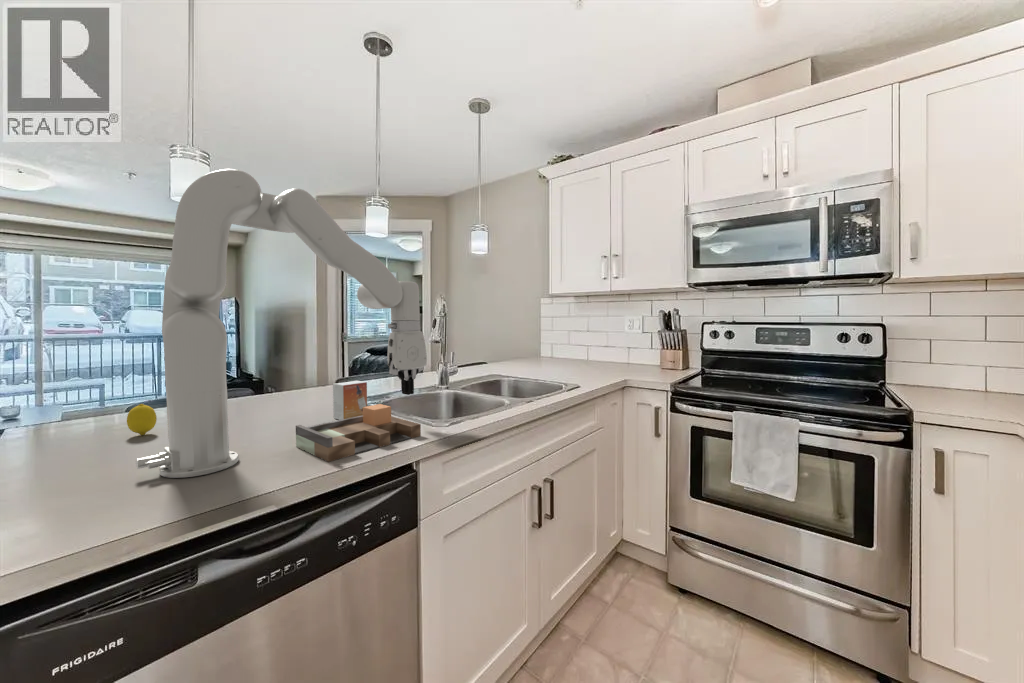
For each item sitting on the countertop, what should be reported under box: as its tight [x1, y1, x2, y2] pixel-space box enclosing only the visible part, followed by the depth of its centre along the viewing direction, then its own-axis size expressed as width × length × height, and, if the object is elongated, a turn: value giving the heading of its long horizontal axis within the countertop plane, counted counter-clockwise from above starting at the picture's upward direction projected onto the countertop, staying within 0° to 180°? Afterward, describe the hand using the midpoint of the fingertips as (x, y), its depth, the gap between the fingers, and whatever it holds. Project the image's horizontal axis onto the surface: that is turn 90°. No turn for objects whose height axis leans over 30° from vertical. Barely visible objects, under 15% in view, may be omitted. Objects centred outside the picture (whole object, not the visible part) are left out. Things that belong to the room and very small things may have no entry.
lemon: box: [126, 403, 158, 436], centre depth 102 cm, size 6×6×8 cm
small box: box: [332, 380, 368, 421], centre depth 121 cm, size 8×6×10 cm
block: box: [363, 403, 392, 426], centre depth 104 cm, size 5×5×4 cm
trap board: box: [295, 415, 422, 463], centre depth 98 cm, size 24×15×5 cm, turn 141°
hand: (407, 393), depth 111 cm, fingers closed
